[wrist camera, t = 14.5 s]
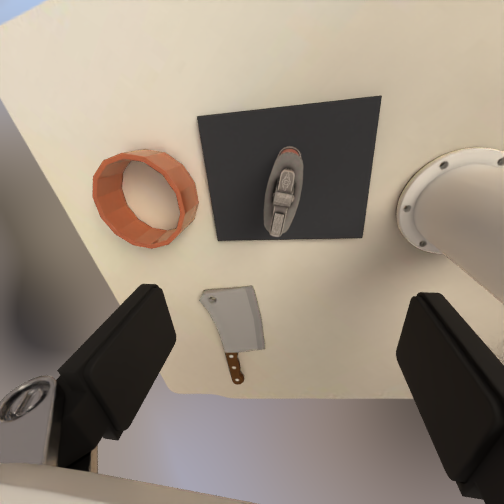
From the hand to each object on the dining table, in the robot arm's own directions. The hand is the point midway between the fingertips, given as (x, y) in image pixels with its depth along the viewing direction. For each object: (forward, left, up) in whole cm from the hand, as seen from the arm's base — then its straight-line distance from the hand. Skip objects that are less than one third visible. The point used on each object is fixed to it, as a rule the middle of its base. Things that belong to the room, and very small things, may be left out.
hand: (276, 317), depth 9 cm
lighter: (0, -1, -24) cm, 24 cm away
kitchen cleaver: (+10, +28, -25) cm, 39 cm away
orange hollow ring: (+18, +1, -24) cm, 30 cm away
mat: (0, 0, -24) cm, 24 cm away
